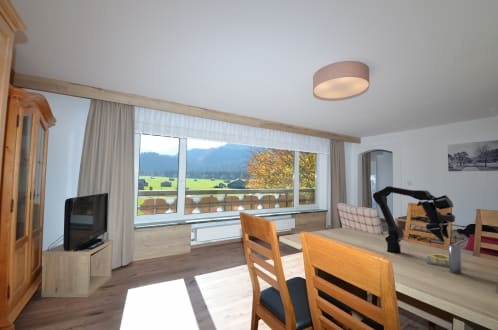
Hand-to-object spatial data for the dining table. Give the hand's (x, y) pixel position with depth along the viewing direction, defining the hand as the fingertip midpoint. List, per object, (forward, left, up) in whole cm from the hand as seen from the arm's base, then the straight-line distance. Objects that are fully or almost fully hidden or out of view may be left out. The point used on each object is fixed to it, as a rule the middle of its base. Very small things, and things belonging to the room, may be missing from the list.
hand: (445, 239), depth 119 cm
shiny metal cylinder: (+3, -10, -14) cm, 17 cm away
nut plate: (-2, +1, -14) cm, 14 cm away
